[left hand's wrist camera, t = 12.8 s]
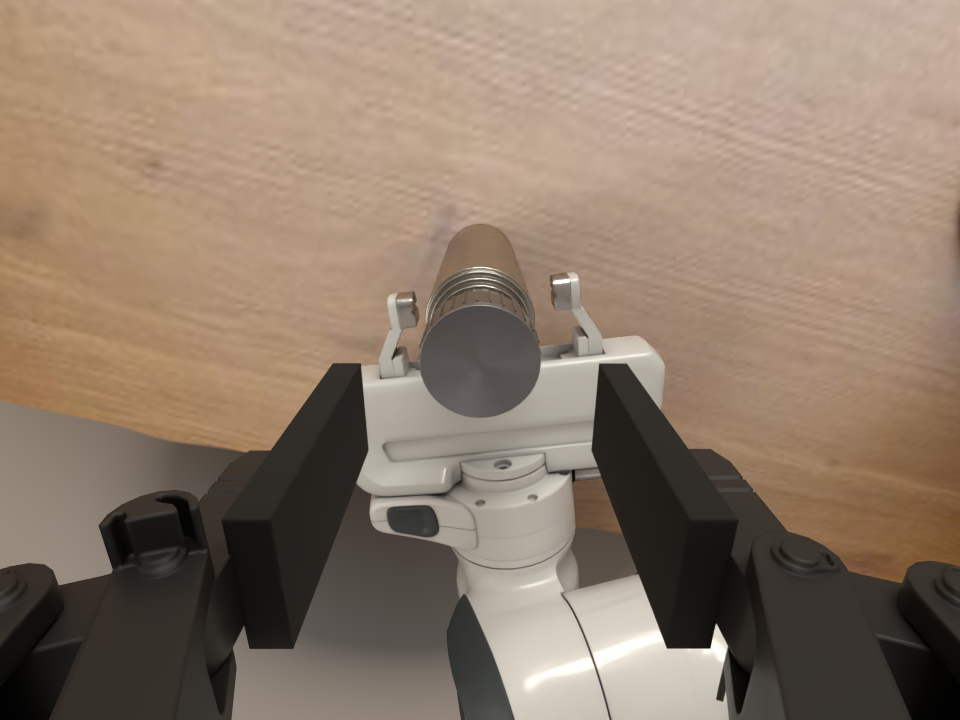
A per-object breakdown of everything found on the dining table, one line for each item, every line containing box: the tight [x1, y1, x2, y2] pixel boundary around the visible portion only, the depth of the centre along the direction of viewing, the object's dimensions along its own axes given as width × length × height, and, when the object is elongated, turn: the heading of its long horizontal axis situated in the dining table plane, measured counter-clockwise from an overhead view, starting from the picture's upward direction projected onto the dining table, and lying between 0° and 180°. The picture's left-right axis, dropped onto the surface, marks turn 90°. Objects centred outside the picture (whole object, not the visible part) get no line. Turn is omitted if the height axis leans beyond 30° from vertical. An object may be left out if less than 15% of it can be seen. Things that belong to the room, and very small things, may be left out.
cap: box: [419, 290, 541, 418], centre depth 19 cm, size 4×4×2 cm
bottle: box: [425, 224, 535, 327], centre depth 27 cm, size 5×5×19 cm
